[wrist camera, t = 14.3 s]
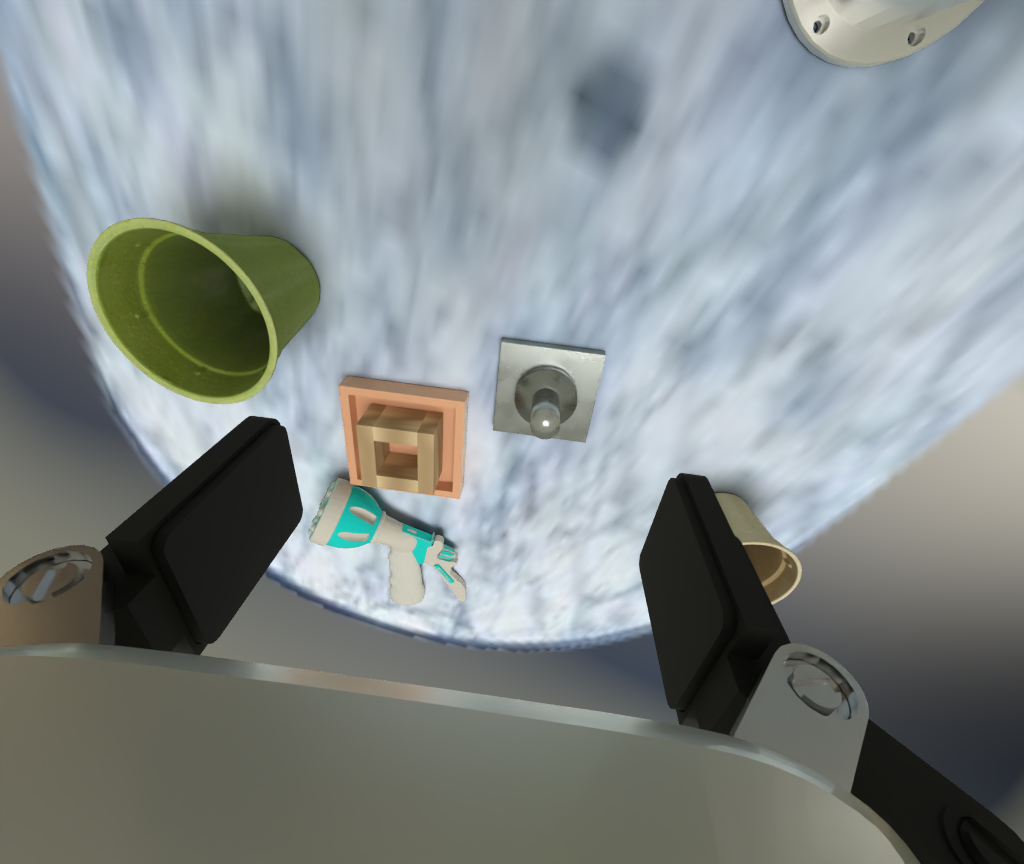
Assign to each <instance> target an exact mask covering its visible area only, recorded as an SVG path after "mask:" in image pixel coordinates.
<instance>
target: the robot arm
mask: <svg viewBox="0 0 1024 864" xmlns="http://www.w3.org/2000/svg"><path fill="white" fill-rule="evenodd" d="M983 1H984V0H783V4H784V7H785V11H786V14H787V18H788V21H789V23H790V25H791V26H792V28H793V30H794V32H795V34H796V35H797V37H798V39H799V40H800V41H801V42H802V43H803V44H804V45H805V46H806V48H807V49H808V50H809V51H810V52H811V53H812V54H814V55H816V56H818V57H819V58H821V59H823V60H824V61H826V62H828V63H832V64H835V65H839V66H843V67H870V66H875V65H879V64H884V63H888V62H891V61H894V60H897V59H900V58H903V57H906V56H909V55H911V54H913V53H915V52H917V51H919V50H921V49H923V48H925V47H927V46H929V45H931V44H933V43H934V42H935V41H937V40H938V39H940V38H941V37H943V36H944V35H945V34H947V33H948V32H950V31H951V30H952V29H954V28H955V27H957V26H958V25H959V24H960V23H961V22H962V21H963V20H964V19H965V18H967V17H968V16H969V15H970V14H971V13H972V12H973V11H974V10H975V9H976V8H977V7H979V6H980V5H981V4H982V3H983ZM814 23H816V24H817V25H818V29H817V31H816V33H814V31H813V25H814ZM909 35H910V40H909V42H908V36H909ZM302 513H303V507H302V502H301V498H300V493H299V488H298V483H297V478H296V473H295V469H294V464H293V459H292V454H291V449H290V445H289V440H288V435H287V431H286V428H285V427H284V426H281V425H280V423H279V422H278V420H276V419H272V418H265V417H257V416H249V417H248V418H246V419H245V420H244V421H242V422H241V423H240V424H239V425H238V426H236V427H235V428H234V429H233V430H232V431H231V432H229V433H228V434H227V435H226V436H225V437H223V438H222V439H221V440H220V441H219V442H218V443H216V444H215V445H214V446H213V447H212V448H210V449H209V450H208V451H207V452H206V453H205V454H203V455H202V456H201V457H200V458H199V459H197V460H196V461H195V462H194V463H193V464H192V465H190V466H189V467H188V468H187V469H186V470H184V471H183V472H182V473H181V474H180V475H179V476H177V477H176V478H175V479H174V480H173V481H171V482H170V483H169V484H168V485H167V486H166V487H164V488H163V489H162V490H161V491H160V492H158V493H157V494H156V495H155V496H154V497H153V498H151V499H150V500H149V501H148V502H147V503H146V504H144V505H143V506H142V507H141V508H140V509H138V510H137V511H136V512H135V513H134V514H132V515H131V516H130V517H129V518H128V519H127V520H125V521H124V522H123V523H122V524H121V525H119V526H118V527H117V528H116V529H115V530H114V531H112V532H111V533H110V534H109V535H108V536H107V537H106V539H107V541H108V543H109V544H108V545H107V546H106V547H105V548H103V549H102V550H101V551H99V550H97V549H96V548H95V547H90V546H85V545H73V546H72V545H70V546H65V547H60V548H55V549H52V550H49V551H46V552H43V553H41V554H38V555H35V556H33V557H31V558H29V559H27V560H25V561H24V562H21V563H20V564H18V565H17V566H15V567H14V568H12V569H11V570H9V571H8V572H6V573H5V574H4V575H3V576H2V577H1V578H0V864H1024V842H1023V841H1022V840H1021V839H1020V838H1019V837H1018V836H1017V834H1016V833H1015V832H1014V831H1013V830H1012V829H1010V828H1009V827H1008V826H1007V825H1006V824H1005V823H1003V822H1002V821H1001V820H1000V819H999V818H998V817H996V816H995V815H994V814H993V813H992V812H990V811H989V810H988V809H986V808H985V807H984V806H982V805H981V804H980V803H978V802H977V801H976V800H974V799H973V798H972V797H971V796H969V795H968V794H966V793H965V792H964V791H963V790H961V789H960V788H959V787H957V786H956V785H955V784H953V783H952V782H951V781H950V780H948V779H947V778H946V777H944V776H943V775H941V774H940V773H939V772H938V771H936V770H935V769H934V768H932V767H931V766H930V765H929V764H927V763H926V762H925V761H923V760H922V759H921V758H919V757H918V756H917V755H915V754H914V753H912V752H911V751H910V750H909V749H907V748H906V747H905V746H904V745H902V744H901V743H899V742H898V741H897V740H896V739H894V738H893V737H892V736H890V735H889V734H888V733H886V732H885V731H884V730H883V729H881V728H880V727H878V726H877V725H876V724H875V723H873V722H872V721H871V720H869V707H868V703H867V701H866V698H865V695H864V693H863V691H862V690H861V688H860V687H859V685H858V683H857V682H856V680H855V679H854V678H853V677H852V676H851V675H850V674H849V673H848V671H846V670H845V668H844V667H843V666H841V665H840V664H839V663H837V662H836V661H835V660H834V659H832V658H831V657H830V656H828V655H826V654H825V653H823V652H821V651H819V650H817V649H815V648H812V647H809V646H806V645H803V644H792V643H791V642H790V641H789V638H788V636H787V634H786V632H785V630H784V628H783V626H782V624H781V622H780V620H779V618H778V616H777V614H776V612H775V610H774V608H773V606H772V603H771V601H770V599H769V597H768V595H767V593H766V591H765V589H764V587H763V585H762V583H761V581H760V579H759V577H758V575H757V573H756V571H755V569H754V566H753V564H752V562H751V560H750V558H749V556H748V554H747V552H746V550H745V548H744V546H743V544H742V542H741V541H740V539H739V538H738V537H736V536H735V535H734V533H733V531H732V529H731V527H730V525H729V523H728V521H727V518H726V516H725V514H724V512H723V510H722V508H721V506H720V504H719V502H718V500H717V497H716V495H715V493H714V491H713V489H712V487H711V485H710V483H709V481H708V479H707V478H706V477H705V476H700V475H693V474H685V473H680V474H679V475H678V476H677V478H670V480H669V481H668V484H667V486H666V489H665V491H664V494H663V497H662V499H661V502H660V504H659V507H658V510H657V512H656V515H655V518H654V520H653V523H652V525H651V528H650V531H649V533H648V536H647V539H646V541H645V544H644V546H643V549H642V552H641V555H640V560H639V568H640V573H641V578H642V583H643V588H644V593H645V598H646V602H647V607H648V612H649V617H650V622H651V626H652V631H653V636H654V641H655V646H656V650H657V655H658V660H659V665H660V670H661V675H662V680H663V684H664V689H665V694H666V699H667V702H668V705H669V707H670V708H671V709H676V711H677V716H678V721H679V725H678V724H672V723H665V722H660V721H654V720H648V719H641V718H635V717H628V716H623V715H617V714H611V713H605V712H599V711H592V710H585V709H578V708H571V707H565V706H558V705H551V704H544V703H537V702H530V701H523V700H517V699H510V698H502V697H496V696H489V695H482V694H475V693H468V692H461V691H455V690H447V689H440V688H433V687H426V686H419V685H412V684H405V683H398V682H391V681H384V680H377V679H370V678H362V677H355V676H348V675H341V674H334V673H327V672H319V671H312V670H305V669H297V668H289V667H283V666H275V665H268V664H260V663H253V662H246V661H238V660H231V659H224V658H216V657H209V656H201V655H200V654H201V653H202V651H203V650H204V649H205V647H206V646H207V644H211V643H214V642H215V641H216V640H217V639H218V638H219V637H220V635H221V634H222V633H223V631H224V630H225V628H226V627H227V625H228V624H229V623H230V621H231V620H232V618H233V617H234V615H235V614H236V613H237V611H238V610H239V608H240V607H241V605H242V604H243V602H244V601H245V600H246V598H247V597H248V595H249V594H250V592H251V591H252V589H253V588H254V587H255V585H256V584H257V582H258V581H259V580H260V578H261V577H262V575H263V574H264V572H265V571H266V570H267V568H268V567H269V565H270V564H271V562H272V561H273V560H274V558H275V557H276V555H277V554H278V552H279V551H280V550H281V548H282V547H283V545H284V544H285V542H286V541H287V540H288V538H289V537H290V535H291V534H292V532H293V531H294V530H295V528H296V527H297V525H298V524H299V522H300V520H301V518H302Z"/></svg>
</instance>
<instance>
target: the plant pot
mask: <svg viewBox="0 0 1024 864" xmlns="http://www.w3.org/2000/svg"><path fill="white" fill-rule="evenodd" d="M87 283H88V289H89V293H90V296H91V300H92V304H93V307H94V310H95V312H96V314H97V316H98V318H99V320H100V322H101V324H102V326H103V328H104V330H105V331H106V333H107V334H108V336H109V337H110V338H111V340H112V341H113V342H114V344H115V345H116V346H117V347H118V348H119V349H120V351H121V352H122V353H123V354H124V355H125V357H126V358H127V359H128V360H129V361H130V362H131V363H132V364H133V365H135V366H136V367H137V368H139V369H140V370H141V371H142V372H143V373H144V374H146V375H147V376H148V377H150V378H151V379H152V380H154V381H155V382H157V383H158V384H160V385H161V386H163V387H165V388H167V389H169V390H171V391H173V392H175V393H177V394H180V395H182V396H184V397H187V398H190V399H193V400H197V401H201V402H206V403H213V404H231V403H237V402H241V401H244V400H247V399H249V398H251V397H253V396H255V395H256V394H257V393H259V392H260V391H261V390H262V389H263V388H264V387H265V386H266V384H267V383H268V382H269V380H270V379H271V377H272V375H273V373H274V370H275V367H276V363H277V359H278V358H279V356H280V354H281V351H282V350H283V349H284V347H285V346H286V345H287V344H288V343H289V341H290V340H291V339H292V338H293V337H294V336H295V335H296V333H297V332H298V331H299V330H300V329H301V328H302V327H303V326H304V324H305V323H306V322H307V321H308V320H309V319H310V317H311V316H312V315H313V314H314V312H315V310H316V309H317V307H318V304H319V298H320V286H319V282H318V278H317V276H316V273H315V271H314V269H313V267H312V265H311V264H310V262H309V261H308V260H307V259H306V258H305V257H304V256H303V255H302V254H301V253H300V252H299V251H298V250H297V249H296V248H294V247H293V246H292V245H291V244H290V243H288V242H286V241H284V240H282V239H279V238H276V237H272V236H255V235H233V234H211V233H203V232H200V231H196V230H191V229H189V228H186V227H184V226H181V225H179V224H176V223H172V222H169V221H165V220H159V219H154V218H134V219H128V220H125V221H121V222H118V223H116V224H114V225H112V226H110V227H109V228H107V229H106V230H105V231H104V232H103V233H102V234H101V235H100V236H99V237H98V238H97V240H96V241H95V243H94V244H93V246H92V248H91V252H90V255H89V259H88V264H87Z"/></svg>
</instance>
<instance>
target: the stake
mask: <svg viewBox="0 0 1024 864" xmlns="http://www.w3.org/2000/svg"><path fill="white" fill-rule="evenodd" d="M605 357H606V354H605V351H600V350H592V349H584V348H577V347H569V346H561V345H554V344H546V343H538V342H530V341H523V340H515V339H507V338H502V342H501V352H500V362H499V372H498V383H497V393H496V404H495V414H494V425H493V430H495V431H502V432H510V433H517V434H525V435H532V436H536V437H538V438H540V439H550V438H555V439H563V440H570V441H578V442H586V438H587V434H588V430H589V425H590V421H591V417H592V413H593V408H594V404H595V400H596V396H597V391H598V387H599V383H600V379H601V374H602V370H603V366H604V362H605Z"/></svg>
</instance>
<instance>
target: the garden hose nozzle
mask: <svg viewBox="0 0 1024 864" xmlns="http://www.w3.org/2000/svg"><path fill="white" fill-rule="evenodd" d="M312 523H313V525H312V526H311V528H310V529H309V531H308V533H309V535H310V538H309V540H310V541H311V542H313V543H316V544H319V545H321V546H325V545H329V546H333V547H337V548H354V547H359V546H362V545H365V544H367V543H370V544H372V543H379V544H385V545H389V546H390V547H391V552H390V553H389V555H388V559H389V561H390V563H389V569H390V571H391V572H392V574H391V575H390V577H389V581H390V583H391V586H390V595H391V599H392V600H393V601H394V602H395V603H397V604H400V605H414V604H417V603H419V602H421V601H422V600H423V598H424V595H425V588H424V585H423V583H422V573H421V567H420V564H423V563H427V564H428V565H430V566H432V567H433V568H434V569H436V570H437V571H438V572H439V574H440V575H441V577H442V578H443V579H444V581H445V582H446V583H447V584H448V585H449V587H450V588H451V589H452V590H453V591H454V593H455V595H456V596H457V598H458V599H459V600H460V601H465V600H466V583H465V582H464V580H463V579H462V578H461V577H460V576H459V575H458V574H456V573H455V572H454V571H453V570H452V569H451V568H452V567H453V566H455V565H456V564H457V561H458V557H456V556H457V553H456V552H454V549H453V548H451V547H449V546H447V545H446V544H444V538H443V537H442V536H440V535H435V538H434V534H435V533H433V534H432V535H431V534H429V533H426V532H424V531H421V530H418V529H416V528H413V527H411V526H408V525H405V524H403V523H401V522H399V521H397V520H395V519H393V518H391V517H389V516H387V515H386V512H385V511H382V510H381V509H380V507H379V505H378V503H377V502H376V500H375V499H374V498H373V497H372V496H371V495H370V494H369V493H368V492H367V491H365V490H364V489H362V488H360V487H358V486H355V485H352V484H350V481H348V480H345V479H342V478H338V479H337V480H336V481H334V482H331V485H330V487H328V489H327V494H326V496H325V499H324V500H323V501H322V502H321V503H320V507H319V511H318V513H317V516H315V518H314V519H313V521H312Z"/></svg>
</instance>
